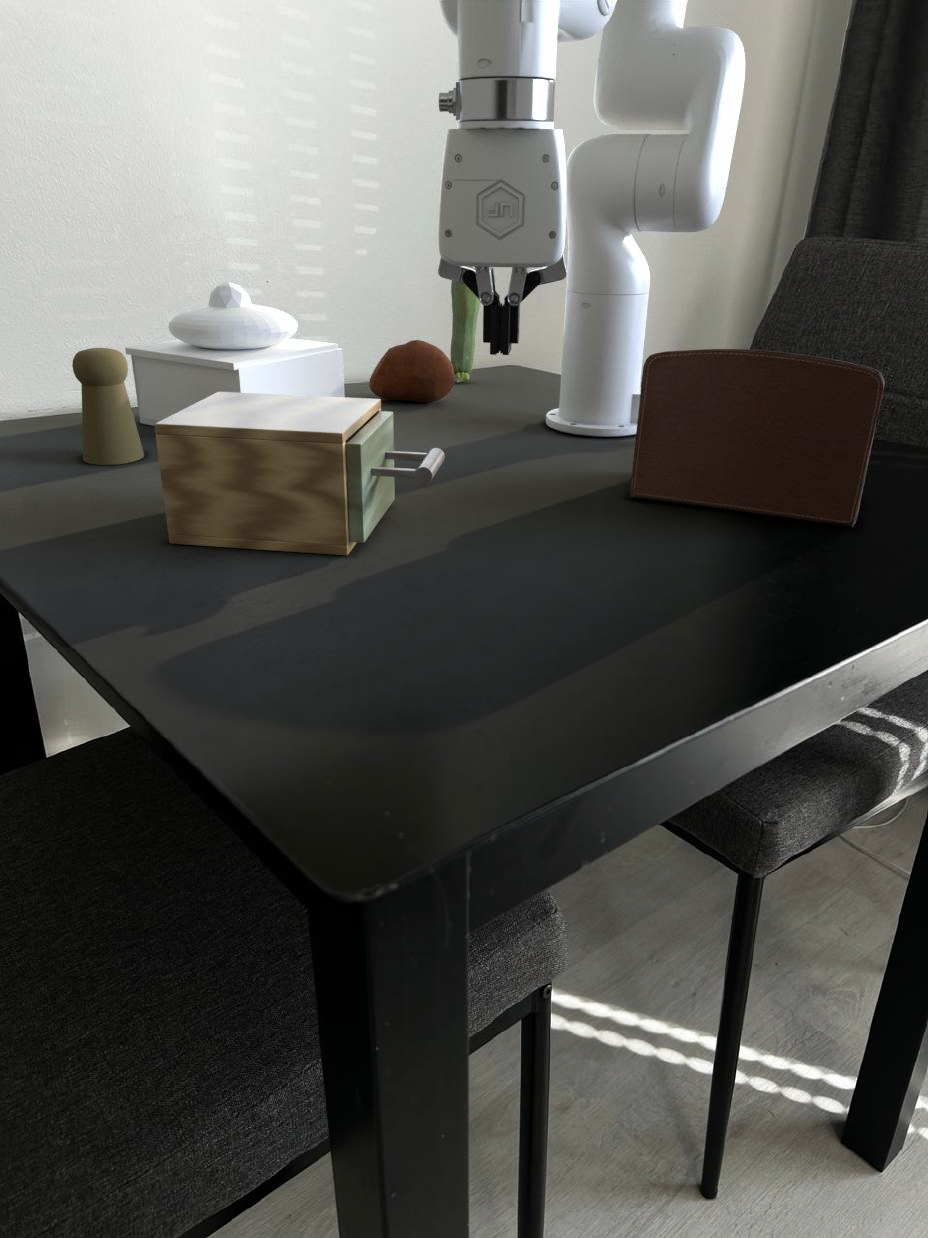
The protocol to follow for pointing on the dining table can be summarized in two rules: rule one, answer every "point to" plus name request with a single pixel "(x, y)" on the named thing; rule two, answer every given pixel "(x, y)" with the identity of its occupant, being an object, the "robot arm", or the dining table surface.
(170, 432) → the cabinet
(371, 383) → the potato
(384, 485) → the drawer
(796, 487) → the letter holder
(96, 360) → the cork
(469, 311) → the vegetable
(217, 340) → the butter dish
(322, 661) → the dining table surface
